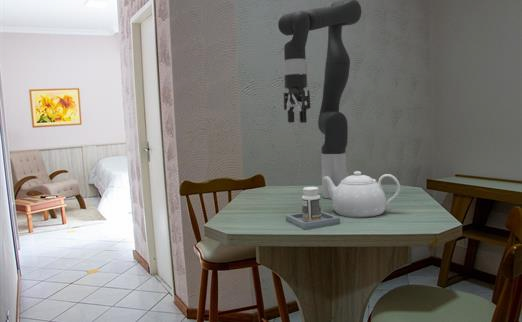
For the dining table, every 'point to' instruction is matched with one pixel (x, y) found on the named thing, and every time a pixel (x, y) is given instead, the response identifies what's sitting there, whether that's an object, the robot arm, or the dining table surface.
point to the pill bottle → (311, 204)
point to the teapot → (359, 195)
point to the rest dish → (325, 221)
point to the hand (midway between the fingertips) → (297, 122)
